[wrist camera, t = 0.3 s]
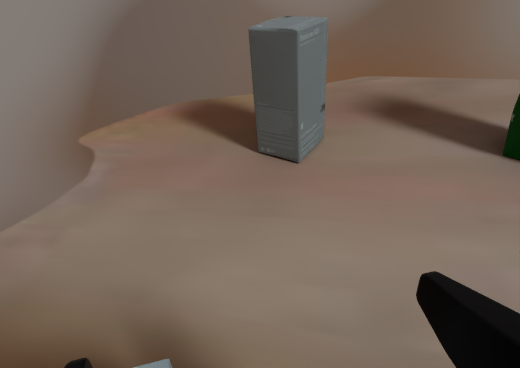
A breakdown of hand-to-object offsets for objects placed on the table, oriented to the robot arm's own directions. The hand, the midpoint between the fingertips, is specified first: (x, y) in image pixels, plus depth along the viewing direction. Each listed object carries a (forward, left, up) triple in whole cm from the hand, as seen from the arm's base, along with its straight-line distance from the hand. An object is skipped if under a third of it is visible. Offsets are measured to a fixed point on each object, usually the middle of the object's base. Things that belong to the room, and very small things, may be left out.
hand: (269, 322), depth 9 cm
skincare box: (+36, -12, -16) cm, 41 cm away
